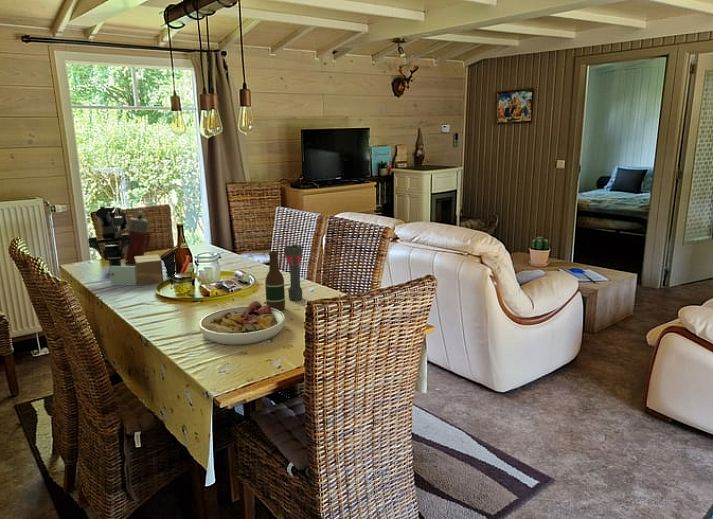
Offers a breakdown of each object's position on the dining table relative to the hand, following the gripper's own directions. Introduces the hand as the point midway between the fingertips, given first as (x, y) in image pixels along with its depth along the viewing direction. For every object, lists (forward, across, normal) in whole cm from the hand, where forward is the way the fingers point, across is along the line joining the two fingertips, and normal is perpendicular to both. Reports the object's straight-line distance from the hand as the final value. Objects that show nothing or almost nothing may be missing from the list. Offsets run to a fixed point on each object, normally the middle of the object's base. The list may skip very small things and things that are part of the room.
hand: (111, 255), depth 263 cm
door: (+18, +3, -2) cm, 19 cm away
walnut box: (+16, +15, +1) cm, 22 cm away
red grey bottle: (-15, +12, +35) cm, 40 cm away
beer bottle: (+65, +56, -52) cm, 100 cm away
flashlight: (+58, +68, -44) cm, 99 cm away
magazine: (+13, +28, +5) cm, 31 cm away
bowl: (+77, +38, -66) cm, 108 cm away
